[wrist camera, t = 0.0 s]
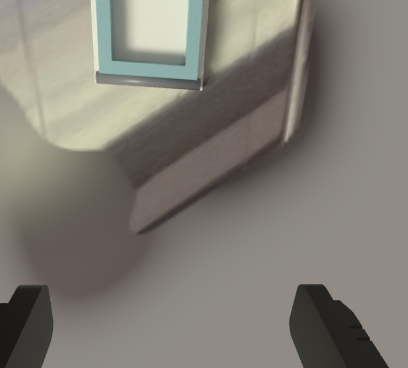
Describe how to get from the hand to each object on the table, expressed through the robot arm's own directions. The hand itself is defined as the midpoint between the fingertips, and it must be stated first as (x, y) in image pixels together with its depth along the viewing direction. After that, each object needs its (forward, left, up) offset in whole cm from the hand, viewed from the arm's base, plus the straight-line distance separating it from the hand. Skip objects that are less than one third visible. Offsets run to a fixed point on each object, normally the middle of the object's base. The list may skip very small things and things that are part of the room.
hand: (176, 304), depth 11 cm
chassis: (-8, -2, -29) cm, 30 cm away
